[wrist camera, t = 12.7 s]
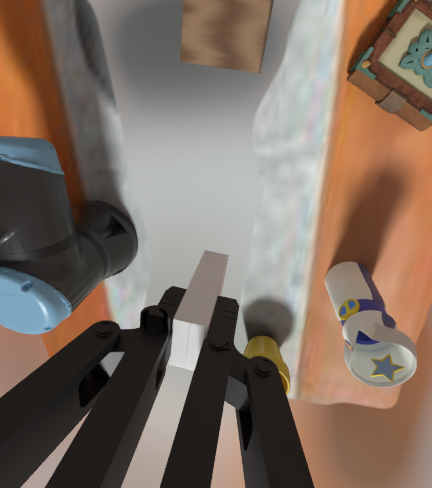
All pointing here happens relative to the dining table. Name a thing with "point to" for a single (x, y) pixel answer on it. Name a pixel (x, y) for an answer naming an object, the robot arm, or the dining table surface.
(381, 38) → the decorative book
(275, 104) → the dining table surface
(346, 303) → the water bottle
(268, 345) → the plant pot
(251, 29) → the walnut block
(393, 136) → the dining table surface
